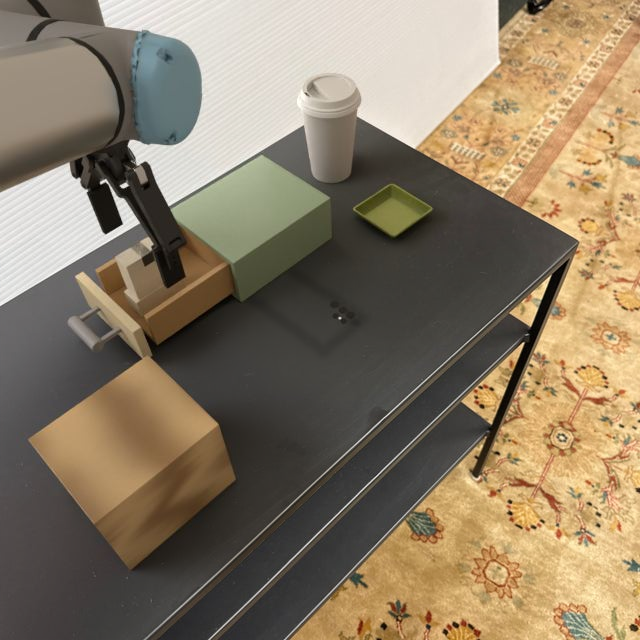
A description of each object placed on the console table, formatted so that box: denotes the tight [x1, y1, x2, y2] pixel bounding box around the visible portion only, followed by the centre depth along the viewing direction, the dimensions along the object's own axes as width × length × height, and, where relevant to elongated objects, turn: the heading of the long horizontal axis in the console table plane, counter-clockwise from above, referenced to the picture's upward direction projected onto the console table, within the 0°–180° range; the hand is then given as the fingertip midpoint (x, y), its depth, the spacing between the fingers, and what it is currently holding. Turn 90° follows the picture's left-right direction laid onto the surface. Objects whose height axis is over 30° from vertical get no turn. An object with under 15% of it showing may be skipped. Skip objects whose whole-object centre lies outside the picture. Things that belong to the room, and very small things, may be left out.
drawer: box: [67, 224, 236, 360], centre depth 85 cm, size 21×13×6 cm, turn 134°
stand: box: [28, 356, 237, 571], centre depth 67 cm, size 14×12×12 cm
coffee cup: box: [296, 72, 363, 184], centre depth 100 cm, size 10×10×15 cm
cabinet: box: [170, 154, 333, 303], centre depth 92 cm, size 18×15×8 cm
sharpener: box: [114, 235, 184, 318], centre depth 83 cm, size 7×3×9 cm, turn 134°
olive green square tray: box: [352, 183, 434, 239], centre depth 97 cm, size 9×9×2 cm
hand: (142, 253), depth 80 cm, fingers open, 13 cm apart
